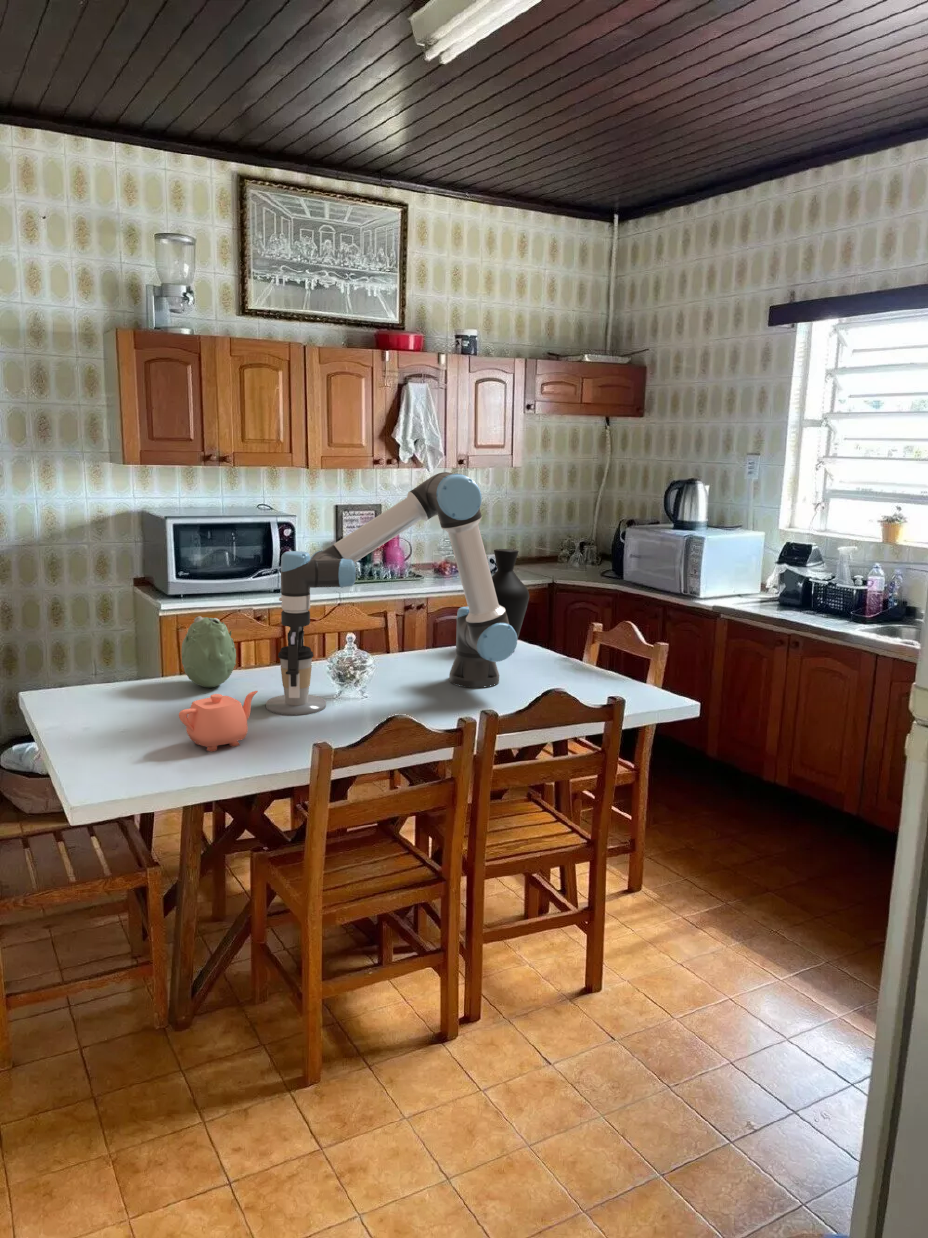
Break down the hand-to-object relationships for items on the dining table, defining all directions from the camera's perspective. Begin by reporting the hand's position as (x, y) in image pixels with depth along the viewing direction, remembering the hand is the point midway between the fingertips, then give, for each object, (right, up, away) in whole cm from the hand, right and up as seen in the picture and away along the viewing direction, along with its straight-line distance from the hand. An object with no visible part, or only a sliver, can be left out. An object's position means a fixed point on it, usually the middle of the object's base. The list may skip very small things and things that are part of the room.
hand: (296, 692), depth 247 cm
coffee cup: (0, -3, +1) cm, 3 cm away
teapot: (-13, -10, -29) cm, 33 cm away
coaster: (0, -4, +1) cm, 4 cm away
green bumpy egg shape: (-28, 0, +17) cm, 33 cm away
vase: (+58, +9, +70) cm, 91 cm away
